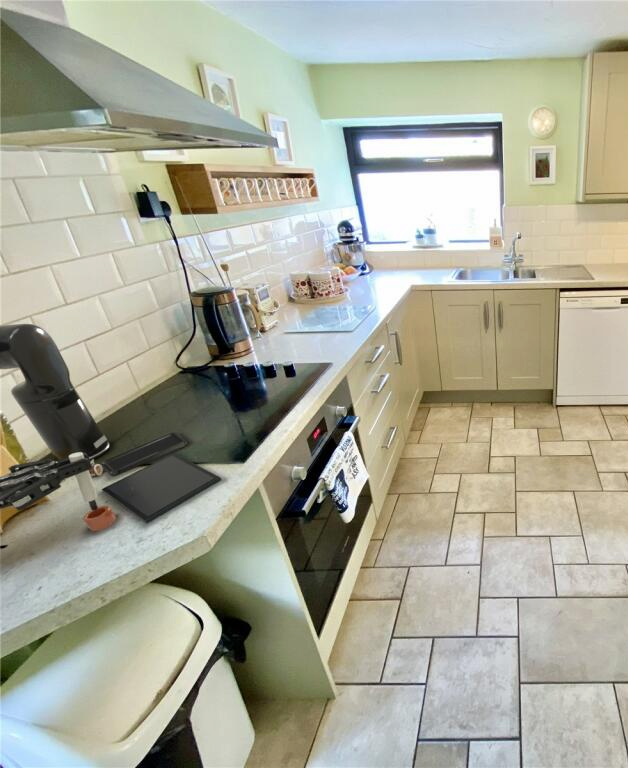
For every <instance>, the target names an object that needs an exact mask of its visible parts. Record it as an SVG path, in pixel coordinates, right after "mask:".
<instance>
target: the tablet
mask: <svg viewBox="0 0 628 768" xmlns="http://www.w3.org/2000/svg"><path fill="white" fill-rule="evenodd" d="M221 481H222V479H221V477H220V476H219V475H216V474H214V473H213V472H211V471H209V470H207V469H206V468H203V467H202V466H199V465H197V464H196V463H193V462H192V461H190V460H188V459H187V458H184V457H182V456H180V455H178V454H176V452H175V453H172V454H170V455H167V456H166V457H164V458H162V459H159V460H158V461H155V462H153V463H151V464H150V465H147V466H145V467H143V468H141V469H139V470H137V471H135V472H133V473H131V474H129V475H127V476H125V477H124V478H121V479H119V480H117V481H115V482H113V483H110V484H109V485H107V486H105V487H103V488H101V491H102V493H104V494H105V495H106V496H108V497H109V498H110V499H111V500H114V501H115V502H116V503H118V505H120V506H122V507H123V508H124V509H126V510H127V511H128V512H130V513H131V514H132V515H134V516H136V517H137V518H138V519H139V520H140V521H142V522H144V523H145V524H150V523H151V522H153V521H154V520H156V519H158V518H159V517H162V516H163V515H165V514H166V513H168V512H170V511H171V510H173V509H175V508H177V507H178V506H180V505H182V504H183V503H185V502H187V501H189V500H190V499H192V498H194V497H195V496H197V495H199V494H200V493H202V492H204V491H206V490H207V489H209V488H211V487H212V486H214V485H216V484H217V483H219V482H221Z"/></svg>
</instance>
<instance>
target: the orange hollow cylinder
mask: <svg viewBox="0 0 628 768" xmlns="http://www.w3.org/2000/svg"><path fill="white" fill-rule="evenodd" d="M82 521H83V522H84V523H85V525H86V526H87V528H88V529H89V530H90V531H91V532H98V531H99V532H100V531H102V530H104V529H106V528H109V527H110V526H111V525H113V524H114V523H115V522H116V521H117V516H116V515H115V513H114V512H113V511H112V509H111V508H110V506H108V505H101V506H98V508H97V509H96V510H91V509H90V510H89V511H88V512H86V513H85V514H84V515H83V517H82Z"/></svg>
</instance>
